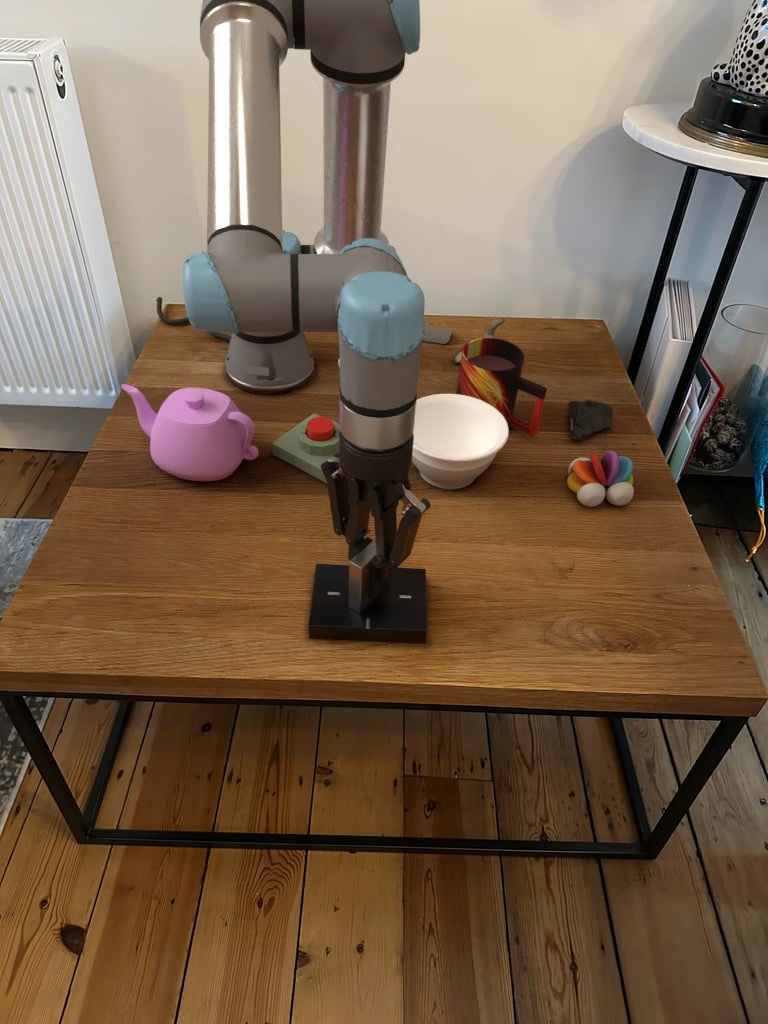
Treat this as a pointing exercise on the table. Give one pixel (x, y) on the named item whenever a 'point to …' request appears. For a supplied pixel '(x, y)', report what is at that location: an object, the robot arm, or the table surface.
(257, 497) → the table surface
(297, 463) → the button box
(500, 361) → the mug
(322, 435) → the button
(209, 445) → the teapot
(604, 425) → the rock
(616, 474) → the rainbow petal toy
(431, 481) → the bowl
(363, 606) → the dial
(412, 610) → the control panel
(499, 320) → the skull
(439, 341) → the half round rod
